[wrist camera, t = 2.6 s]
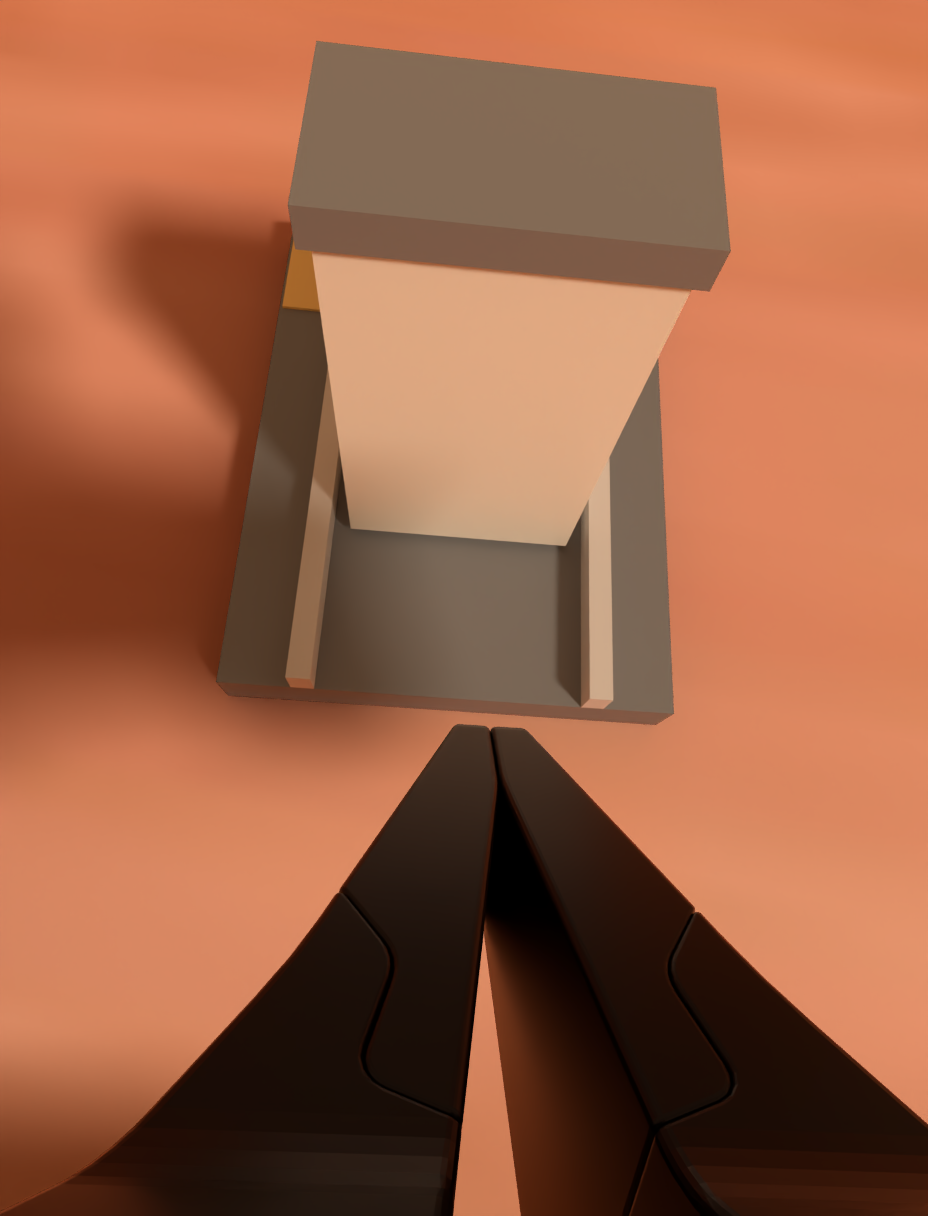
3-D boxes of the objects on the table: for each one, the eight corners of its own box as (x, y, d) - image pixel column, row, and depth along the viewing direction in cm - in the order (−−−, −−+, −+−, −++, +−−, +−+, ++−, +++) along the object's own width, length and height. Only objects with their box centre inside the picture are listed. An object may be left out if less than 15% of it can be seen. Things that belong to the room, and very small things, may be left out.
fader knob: (572, 553, 21) (730, 251, 11) (342, 534, 21) (287, 204, 11) (573, 448, 22) (715, 87, 12) (355, 428, 22) (316, 41, 12)
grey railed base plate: (656, 724, 22) (686, 705, 19) (228, 695, 21) (206, 671, 18) (640, 281, 27) (662, 224, 25) (301, 246, 26) (292, 184, 24)
